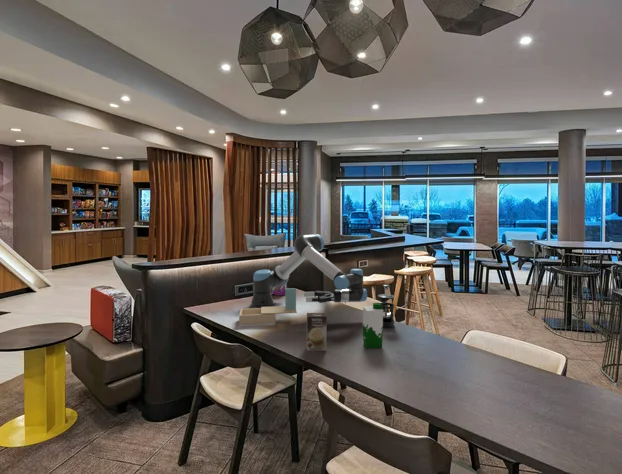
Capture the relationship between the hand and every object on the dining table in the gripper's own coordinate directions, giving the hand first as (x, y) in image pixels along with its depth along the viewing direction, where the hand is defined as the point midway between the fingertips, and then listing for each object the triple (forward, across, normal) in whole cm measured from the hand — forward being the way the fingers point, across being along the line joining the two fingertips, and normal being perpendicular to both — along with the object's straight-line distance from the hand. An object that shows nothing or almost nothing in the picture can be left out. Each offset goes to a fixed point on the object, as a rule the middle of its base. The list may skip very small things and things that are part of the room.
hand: (304, 296), depth 213 cm
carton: (+27, 0, -14) cm, 31 cm away
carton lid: (+15, 0, -7) cm, 17 cm away
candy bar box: (+13, +68, -14) cm, 71 cm away
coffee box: (-1, -45, -14) cm, 48 cm away
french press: (-43, -16, -14) cm, 48 cm away
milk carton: (-28, -45, -14) cm, 55 cm away
